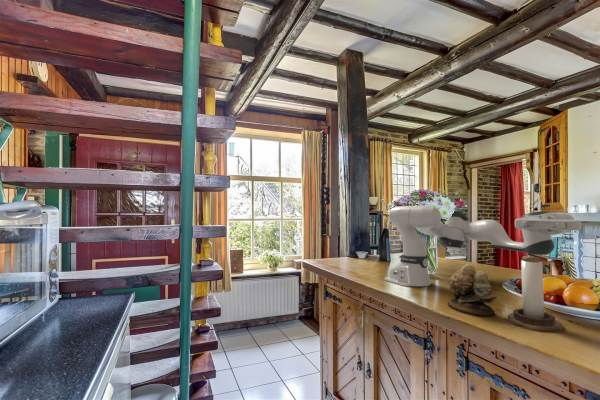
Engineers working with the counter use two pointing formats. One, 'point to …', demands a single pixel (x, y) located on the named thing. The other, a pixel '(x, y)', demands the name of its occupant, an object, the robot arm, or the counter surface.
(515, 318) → the groove tray
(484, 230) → the robot arm
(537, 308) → the off-white tall cylinder
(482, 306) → the owl figurine
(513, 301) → the counter surface
